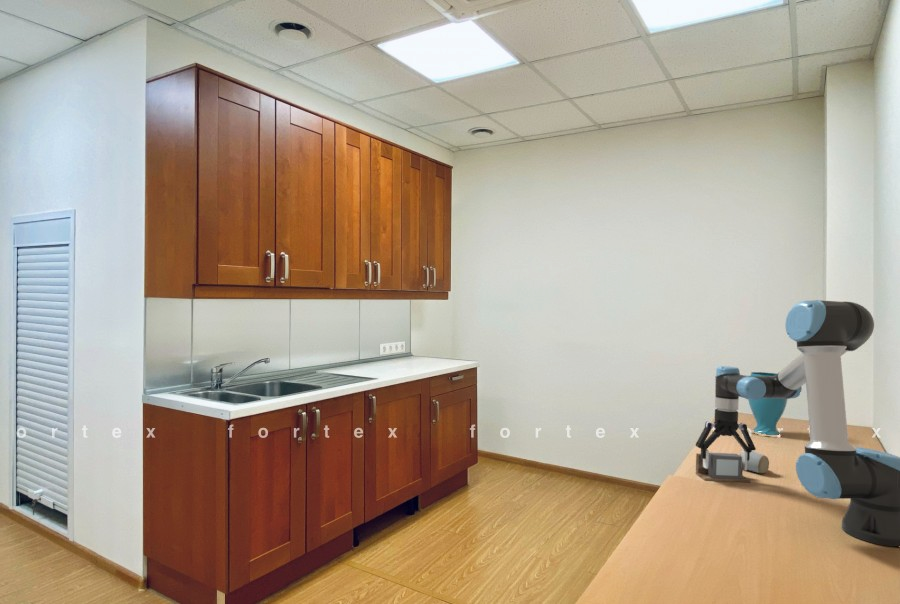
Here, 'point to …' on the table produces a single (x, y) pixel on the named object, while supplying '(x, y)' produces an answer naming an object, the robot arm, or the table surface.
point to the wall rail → (704, 475)
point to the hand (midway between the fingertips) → (724, 468)
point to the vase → (767, 411)
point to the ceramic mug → (757, 463)
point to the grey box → (724, 465)
